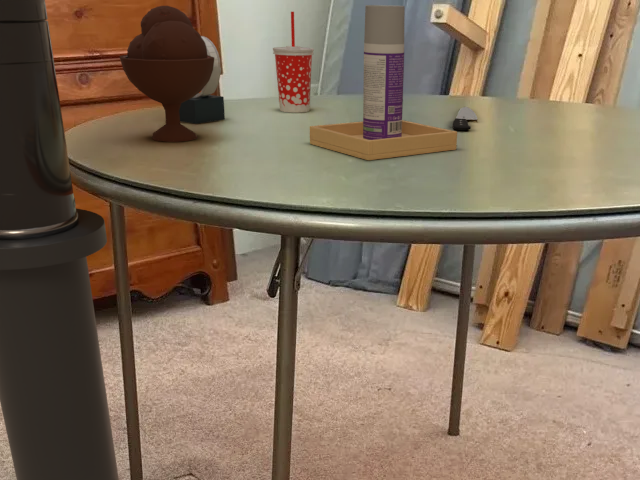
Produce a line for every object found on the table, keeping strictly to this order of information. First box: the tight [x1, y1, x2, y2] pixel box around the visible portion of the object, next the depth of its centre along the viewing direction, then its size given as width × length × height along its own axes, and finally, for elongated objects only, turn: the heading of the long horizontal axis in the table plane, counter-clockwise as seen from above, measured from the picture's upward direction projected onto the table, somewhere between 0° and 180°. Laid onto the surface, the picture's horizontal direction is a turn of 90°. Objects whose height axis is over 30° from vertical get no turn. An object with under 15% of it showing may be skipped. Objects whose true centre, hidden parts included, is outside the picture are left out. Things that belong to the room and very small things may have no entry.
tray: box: [309, 119, 458, 161], centre depth 96 cm, size 13×12×2 cm
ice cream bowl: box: [119, 5, 214, 143], centre depth 96 cm, size 11×11×15 cm
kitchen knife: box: [452, 106, 478, 131], centre depth 118 cm, size 23×3×1 cm, turn 171°
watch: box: [179, 35, 226, 125], centre depth 110 cm, size 6×8×11 cm
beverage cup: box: [272, 11, 315, 113], centre depth 120 cm, size 6×6×14 cm
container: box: [362, 4, 406, 140], centre depth 93 cm, size 5×5×15 cm
